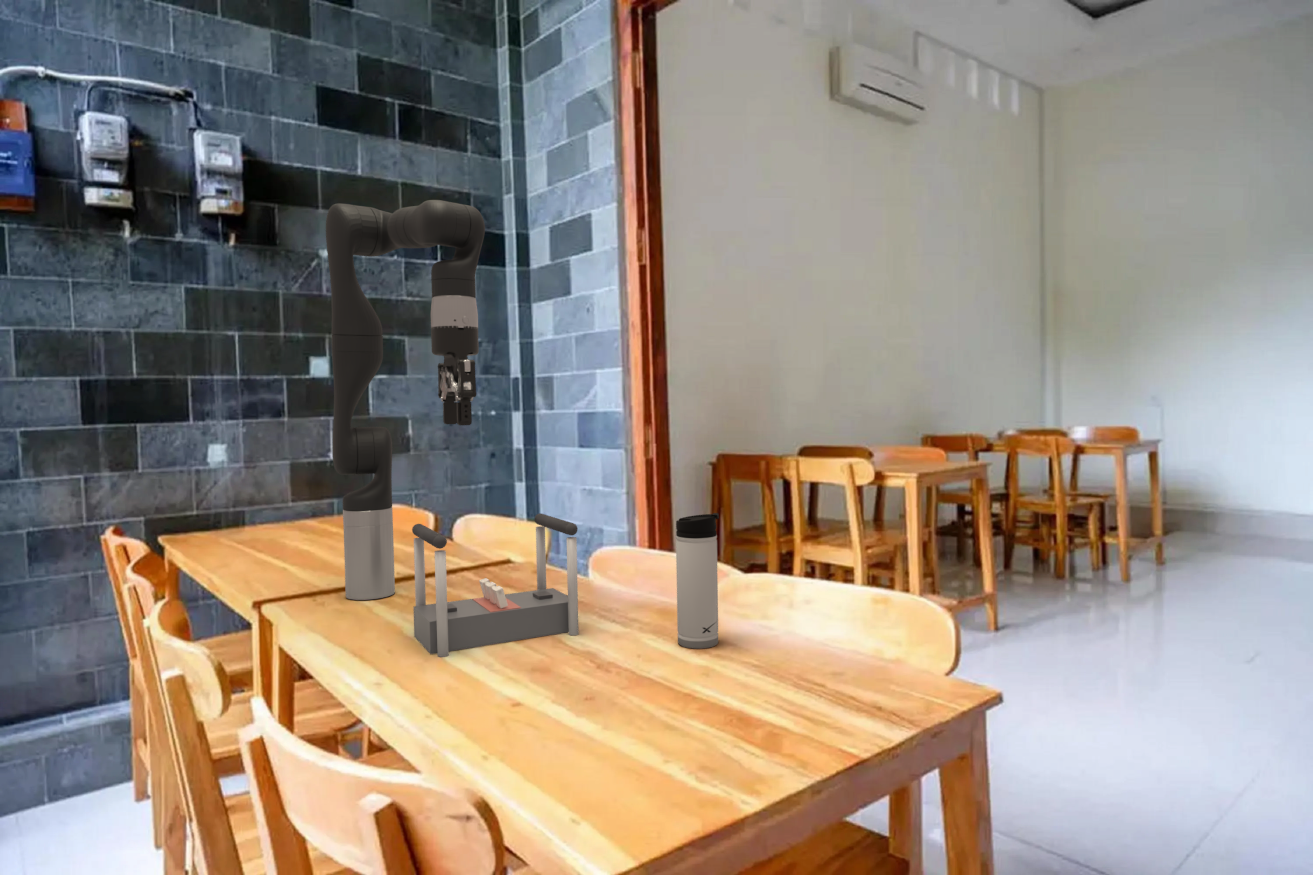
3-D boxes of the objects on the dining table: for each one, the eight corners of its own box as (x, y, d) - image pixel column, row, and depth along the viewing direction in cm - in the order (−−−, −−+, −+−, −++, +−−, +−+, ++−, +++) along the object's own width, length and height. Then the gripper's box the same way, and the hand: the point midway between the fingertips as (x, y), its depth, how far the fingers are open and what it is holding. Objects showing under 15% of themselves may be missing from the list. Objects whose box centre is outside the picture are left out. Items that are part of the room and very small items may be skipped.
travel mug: (717, 650, 122) (716, 516, 121) (674, 648, 123) (672, 516, 122) (723, 638, 128) (721, 511, 127) (681, 636, 129) (679, 510, 128)
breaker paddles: (483, 597, 136) (478, 580, 136) (490, 594, 137) (485, 577, 136) (500, 608, 128) (495, 590, 128) (507, 605, 129) (502, 587, 128)
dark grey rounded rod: (411, 535, 133) (410, 523, 133) (423, 534, 134) (423, 522, 134) (434, 550, 119) (434, 536, 119) (448, 548, 120) (448, 535, 120)
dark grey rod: (532, 524, 144) (532, 513, 143) (543, 523, 144) (543, 512, 144) (568, 536, 129) (567, 524, 129) (579, 535, 130) (579, 523, 130)
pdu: (411, 633, 134) (408, 538, 133) (548, 612, 145) (546, 525, 145) (434, 658, 120) (431, 552, 119) (584, 633, 132) (582, 537, 131)
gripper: (421, 329, 138) (424, 424, 139) (442, 321, 126) (445, 426, 127) (465, 330, 142) (467, 423, 143) (490, 322, 129) (492, 424, 130)
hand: (457, 424), depth 135 cm, fingers open, 8 cm apart
